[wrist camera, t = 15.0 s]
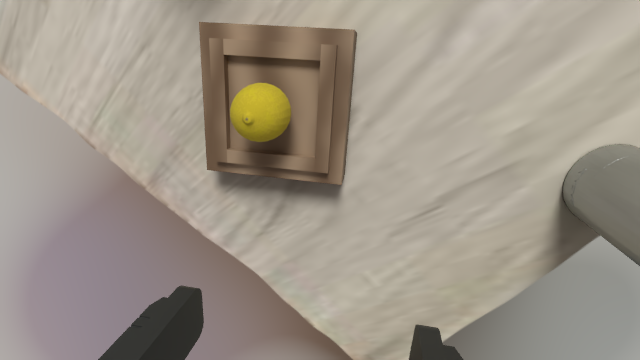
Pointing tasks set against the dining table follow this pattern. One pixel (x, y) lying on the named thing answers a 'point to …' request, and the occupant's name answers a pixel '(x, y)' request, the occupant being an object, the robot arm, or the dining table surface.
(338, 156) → the brown wooden crate
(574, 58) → the dining table surface
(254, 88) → the lemon
